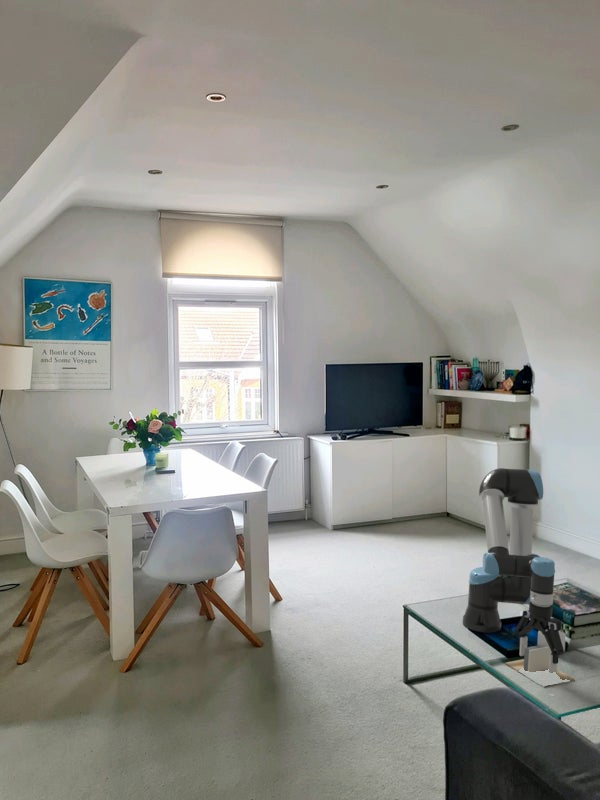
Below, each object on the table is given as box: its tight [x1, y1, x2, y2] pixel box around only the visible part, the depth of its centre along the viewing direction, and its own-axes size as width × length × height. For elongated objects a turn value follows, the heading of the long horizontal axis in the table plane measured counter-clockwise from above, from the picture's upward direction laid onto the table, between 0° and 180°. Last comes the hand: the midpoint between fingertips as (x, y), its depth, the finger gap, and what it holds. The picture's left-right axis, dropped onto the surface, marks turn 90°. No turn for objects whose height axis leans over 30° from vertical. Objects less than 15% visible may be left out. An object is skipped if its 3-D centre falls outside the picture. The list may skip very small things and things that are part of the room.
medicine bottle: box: [536, 616, 567, 653], centre depth 242 cm, size 7×7×12 cm
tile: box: [523, 644, 551, 672], centre depth 225 cm, size 2×10×8 cm, turn 115°
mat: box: [504, 658, 576, 682], centre depth 224 cm, size 18×14×1 cm
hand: (537, 663), depth 225 cm, fingers open, 13 cm apart
